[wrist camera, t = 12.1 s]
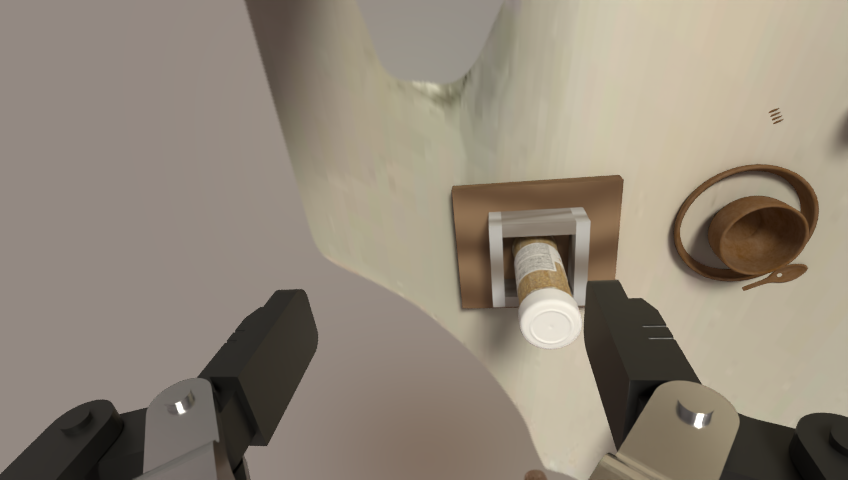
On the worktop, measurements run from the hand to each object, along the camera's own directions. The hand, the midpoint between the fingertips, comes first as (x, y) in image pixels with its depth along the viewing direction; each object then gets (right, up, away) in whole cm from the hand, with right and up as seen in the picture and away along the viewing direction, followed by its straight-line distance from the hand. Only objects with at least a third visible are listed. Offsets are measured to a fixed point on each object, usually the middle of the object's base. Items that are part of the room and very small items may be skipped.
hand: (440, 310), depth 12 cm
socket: (+11, +2, +33) cm, 35 cm away
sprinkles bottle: (+11, +1, +31) cm, 33 cm away
